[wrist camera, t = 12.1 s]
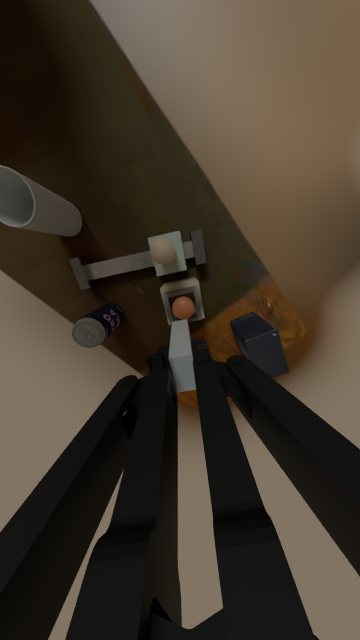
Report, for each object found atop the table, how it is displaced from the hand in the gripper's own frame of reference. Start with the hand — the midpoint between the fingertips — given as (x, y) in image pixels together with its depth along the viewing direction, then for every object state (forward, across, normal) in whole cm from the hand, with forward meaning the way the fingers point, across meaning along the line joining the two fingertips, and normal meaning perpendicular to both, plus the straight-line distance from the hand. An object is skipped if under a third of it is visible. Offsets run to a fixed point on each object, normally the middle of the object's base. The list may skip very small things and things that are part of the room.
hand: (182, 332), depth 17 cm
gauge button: (+14, 0, -1) cm, 14 cm away
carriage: (+23, -1, +8) cm, 24 cm away
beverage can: (+23, -17, -2) cm, 28 cm away
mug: (+23, -20, +20) cm, 36 cm away
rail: (+23, -7, +8) cm, 25 cm away
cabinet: (+23, 0, -1) cm, 23 cm away
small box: (+23, +14, -14) cm, 30 cm away
